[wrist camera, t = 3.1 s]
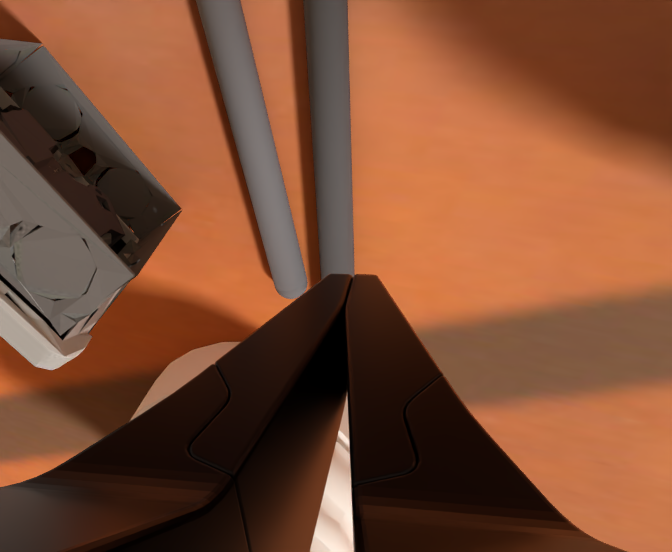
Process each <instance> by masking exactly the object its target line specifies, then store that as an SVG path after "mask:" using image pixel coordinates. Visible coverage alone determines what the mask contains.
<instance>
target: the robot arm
mask: <svg viewBox="0 0 672 552" xmlns="http://www.w3.org/2000/svg"><path fill="white" fill-rule="evenodd" d="M346 397H347V399H348V424H349V449H350V473H351V498H352V522H353V547H354V552H627V551H624V550H621V549H619V548H616V547H614V546H611V545H608V544H606V543H603V542H601V541H599V540H597V539H595V538H593V537H591V536H589V535H588V534H586V533H584V532H583V531H582V530H580V529H579V528H578V527H576V526H575V525H573V524H572V523H571V522H570V521H569V520H568V519H567V518H565V517H564V516H563V515H562V514H561V513H560V512H559V511H558V510H557V509H556V508H555V507H554V506H553V505H552V504H551V503H550V502H549V501H548V500H547V499H546V497H545V496H544V495H543V494H542V493H541V492H540V491H539V490H538V489H537V488H536V486H535V485H534V484H533V483H532V482H531V481H530V480H529V479H528V478H527V476H526V475H525V474H524V473H523V472H522V471H521V470H520V469H519V468H518V466H517V465H516V464H515V463H514V462H513V461H512V460H511V459H510V458H509V456H508V455H507V454H506V453H505V452H504V451H503V450H502V449H501V448H500V447H499V445H498V444H497V443H496V442H495V441H494V440H493V439H492V438H491V436H490V435H489V434H488V433H487V432H486V431H485V429H484V428H483V427H482V426H481V425H480V424H479V422H478V421H477V420H476V419H475V418H474V417H473V415H472V414H471V413H470V412H469V410H468V409H467V407H466V406H465V405H464V403H463V402H462V401H461V399H460V398H459V396H458V395H457V394H456V392H455V391H454V389H453V388H452V386H451V385H450V383H449V382H448V380H447V379H446V377H444V376H443V373H442V372H441V370H440V369H439V367H438V366H437V364H436V363H435V361H434V360H433V358H432V357H431V355H430V354H429V352H428V351H427V349H426V348H425V346H424V345H423V343H422V342H421V340H420V339H419V337H418V336H417V334H416V333H415V331H414V330H413V328H412V327H411V325H410V324H409V322H408V321H407V319H406V318H405V316H404V315H403V313H402V312H401V310H400V309H399V308H398V306H397V305H396V303H395V302H394V300H393V299H392V297H391V296H390V294H389V293H388V291H387V290H386V288H385V287H384V285H383V284H382V282H381V281H380V279H379V278H378V276H376V275H366V274H356V275H354V277H352V275H350V274H329V275H327V276H326V277H325V278H323V279H322V280H321V281H320V282H318V283H317V284H316V285H314V286H313V287H312V288H310V289H309V290H308V291H307V292H305V293H304V294H303V295H301V296H300V297H299V298H297V299H296V300H295V301H294V302H292V303H291V304H290V305H288V306H287V307H286V308H284V309H283V310H282V311H281V312H279V313H278V314H277V315H275V316H274V317H273V318H271V319H270V320H269V321H268V322H266V323H265V324H264V325H262V326H261V327H260V328H258V329H257V330H256V331H255V332H253V333H252V334H251V335H249V336H248V337H247V338H245V339H244V340H243V341H242V342H240V343H239V344H238V345H236V346H235V347H234V348H232V349H231V350H230V351H229V352H227V353H226V354H225V355H223V356H222V357H221V358H219V359H218V360H217V361H216V362H215V364H211V365H210V366H209V367H207V368H206V369H205V370H204V371H202V372H201V373H200V374H198V375H197V376H196V377H194V378H193V379H192V380H190V381H189V382H187V383H186V384H185V385H183V386H182V387H181V388H179V389H178V390H176V391H175V392H174V393H172V394H171V395H169V396H168V397H166V398H165V399H163V400H162V401H160V402H159V403H157V404H156V405H154V406H153V407H151V408H150V409H148V410H147V411H145V412H144V413H142V414H141V415H139V416H137V417H136V418H134V419H133V420H131V421H129V422H128V423H126V424H125V425H123V426H121V427H120V428H118V429H117V430H115V431H114V432H112V433H110V434H109V435H107V436H106V437H104V438H102V439H101V440H99V441H98V442H96V443H95V444H93V445H91V446H90V447H88V448H87V449H85V450H83V451H82V452H80V453H79V454H77V455H75V456H74V457H72V458H71V459H69V460H68V461H66V462H64V463H63V464H61V465H59V466H57V467H56V468H54V469H52V470H50V471H48V472H46V473H44V474H42V475H39V476H37V477H35V478H32V479H29V480H26V481H23V482H20V483H16V484H12V485H8V486H4V487H0V552H310V548H311V544H312V540H313V536H314V532H315V528H316V524H317V519H318V515H319V511H320V507H321V503H322V499H323V494H324V490H325V486H326V482H327V478H328V474H329V469H330V465H331V461H332V457H333V453H334V449H335V445H336V440H337V436H338V432H339V428H340V424H341V420H342V415H343V411H344V407H345V402H346Z"/></svg>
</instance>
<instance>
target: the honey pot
mask: <svg viewBox="0 0 672 552" xmlns="http://www.w3.org/2000/svg"><path fill="white" fill-rule="evenodd" d="M239 343H240V342H220V343H216V344H212V345H209V346H205V347H201V348H197V349H193V350H191V351H189V352H188V353H186V354H184V355H183V356H181V357H179V358H178V359H176V360H174V361H173V362H171V363H170V364H169V365H168V366H167V367H166V369H165V370H164V371H163V372H162V373H161V375H160V376H159V377H158V378H157V379H156V381H155V382H154V384H153V385H152V387H151V388H150V390H149V391H148V393H147V395H146V396H145V398H144V399H143V401H142V402H141V404H140V406H139V407H138V409H137V410H136V412H135V413H134V415H133V417H132V418H131V420H133V419H134V418H136V417H137V416H139V415H141V414H142V413H144V412H145V411H147V410H148V409H150V408H151V407H153V406H154V405H156V404H157V403H159V402H160V401H162V400H163V399H165V398H166V397H168V396H169V395H171V394H172V393H174V392H175V391H176V390H178V389H179V388H181V387H182V386H183V385H185V384H186V383H187V382H189V381H190V380H192V379H193V378H194V377H196V376H197V375H198V374H200V373H201V372H202V371H204V370H205V369H206V368H207V367H209V366H210V365H211V364H215V362H216V361H217V360H218V359H219V358H221V357H222V356H223V355H225V354H226V353H227V352H229V351H230V350H231V349H232V348H234V347H235V346H236V345H238V344H239ZM131 420H130V421H131ZM310 552H354V547H353V522H352V498H351V473H350V449H349V424H348V399H347V397H346V402H345V407H344V411H343V415H342V420H341V424H340V428H339V432H338V436H337V440H336V445H335V449H334V453H333V457H332V461H331V465H330V469H329V474H328V478H327V482H326V486H325V490H324V494H323V499H322V503H321V507H320V511H319V515H318V519H317V524H316V528H315V532H314V536H313V540H312V544H311V548H310Z"/></svg>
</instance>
